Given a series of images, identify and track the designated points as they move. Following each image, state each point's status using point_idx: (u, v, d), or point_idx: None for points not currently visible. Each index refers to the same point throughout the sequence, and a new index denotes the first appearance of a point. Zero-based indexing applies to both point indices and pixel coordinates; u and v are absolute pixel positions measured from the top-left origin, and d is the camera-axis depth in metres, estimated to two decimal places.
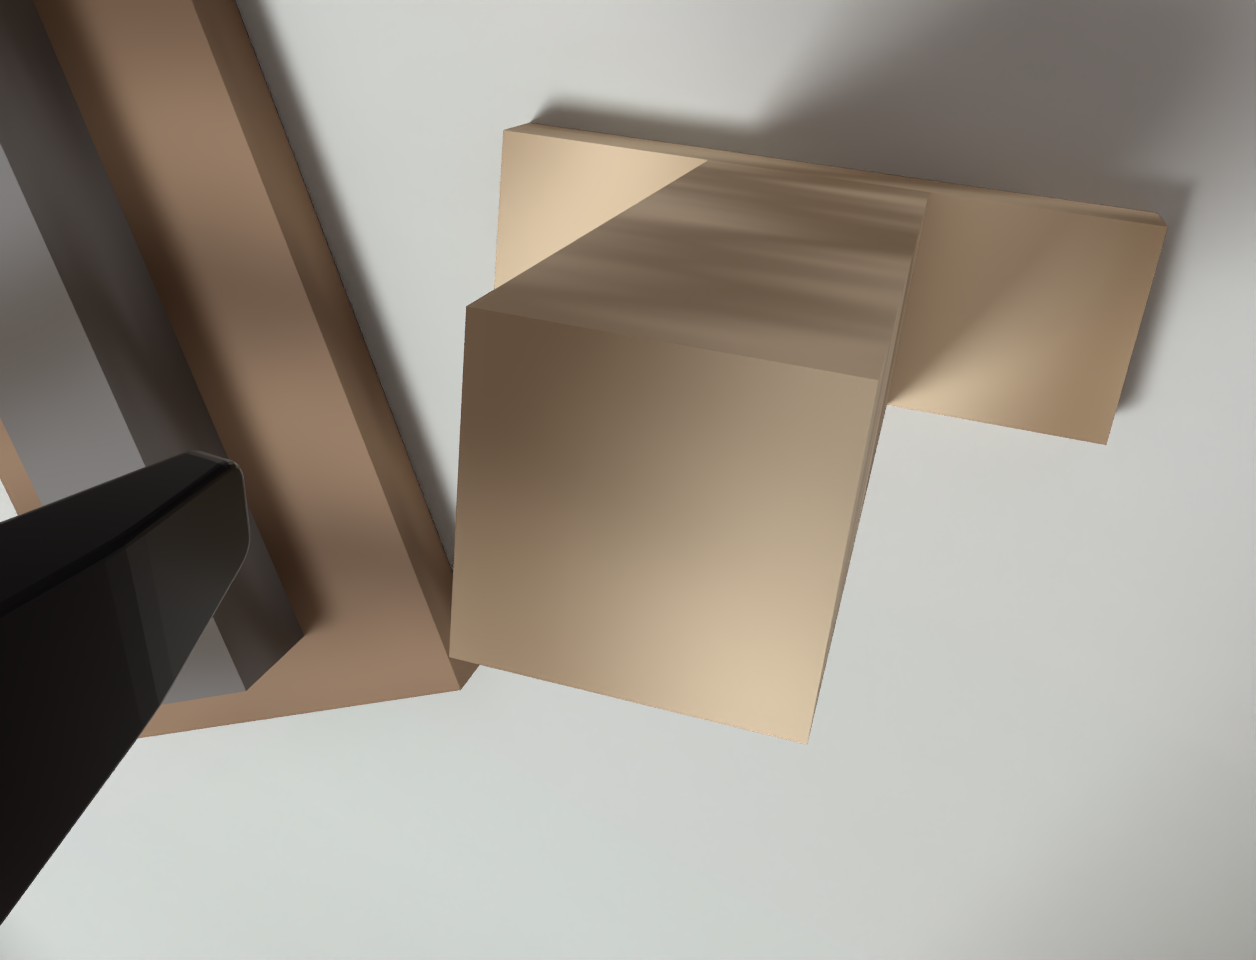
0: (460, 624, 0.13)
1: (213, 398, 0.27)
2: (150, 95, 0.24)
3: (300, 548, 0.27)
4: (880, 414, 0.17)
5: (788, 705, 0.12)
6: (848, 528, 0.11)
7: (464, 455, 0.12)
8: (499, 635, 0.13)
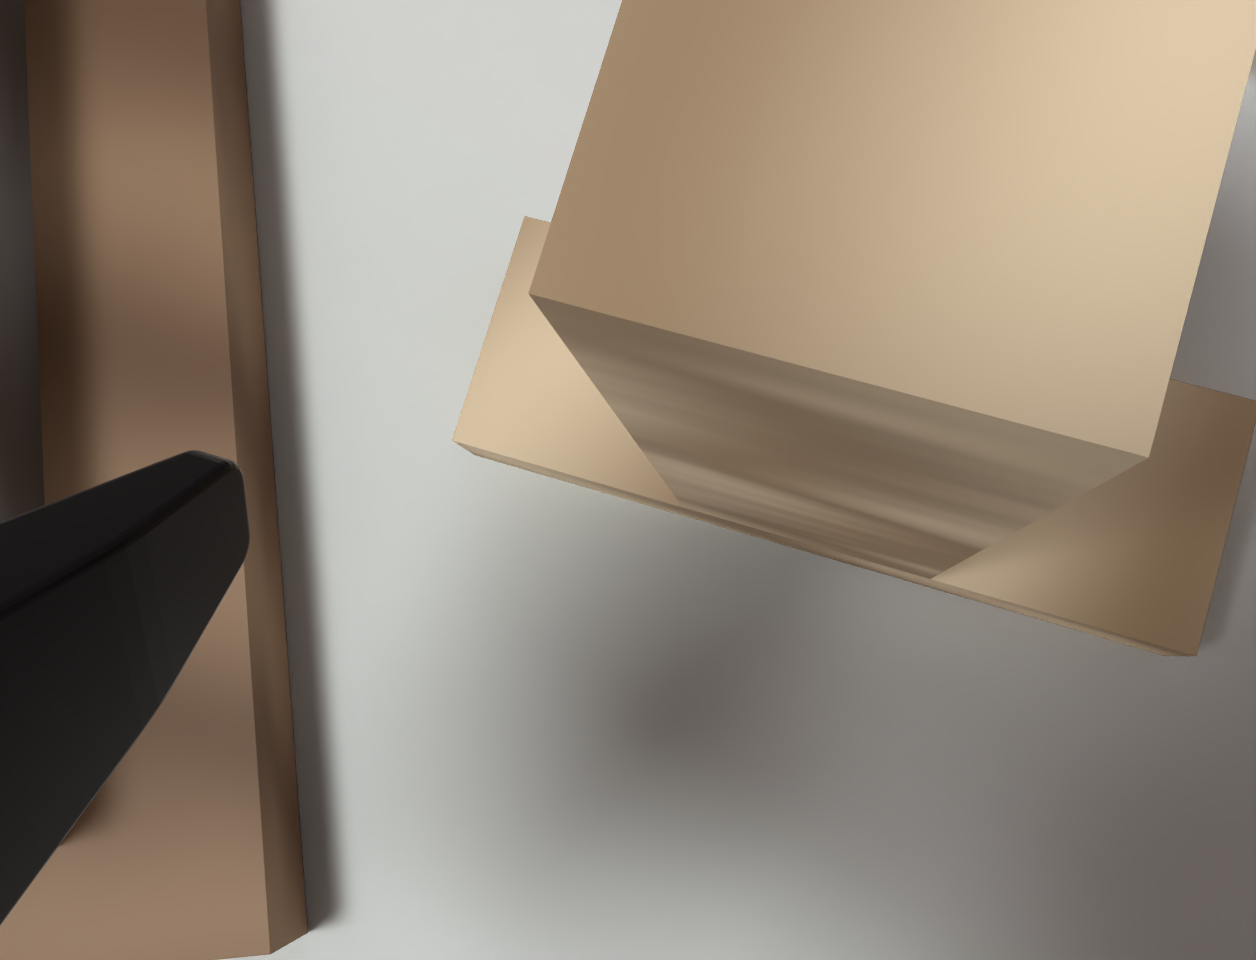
0: (564, 234, 0.08)
1: (58, 485, 0.21)
2: (121, 130, 0.21)
3: None
4: None
5: (1120, 383, 0.07)
6: (1248, 73, 0.07)
7: None
8: (628, 253, 0.08)
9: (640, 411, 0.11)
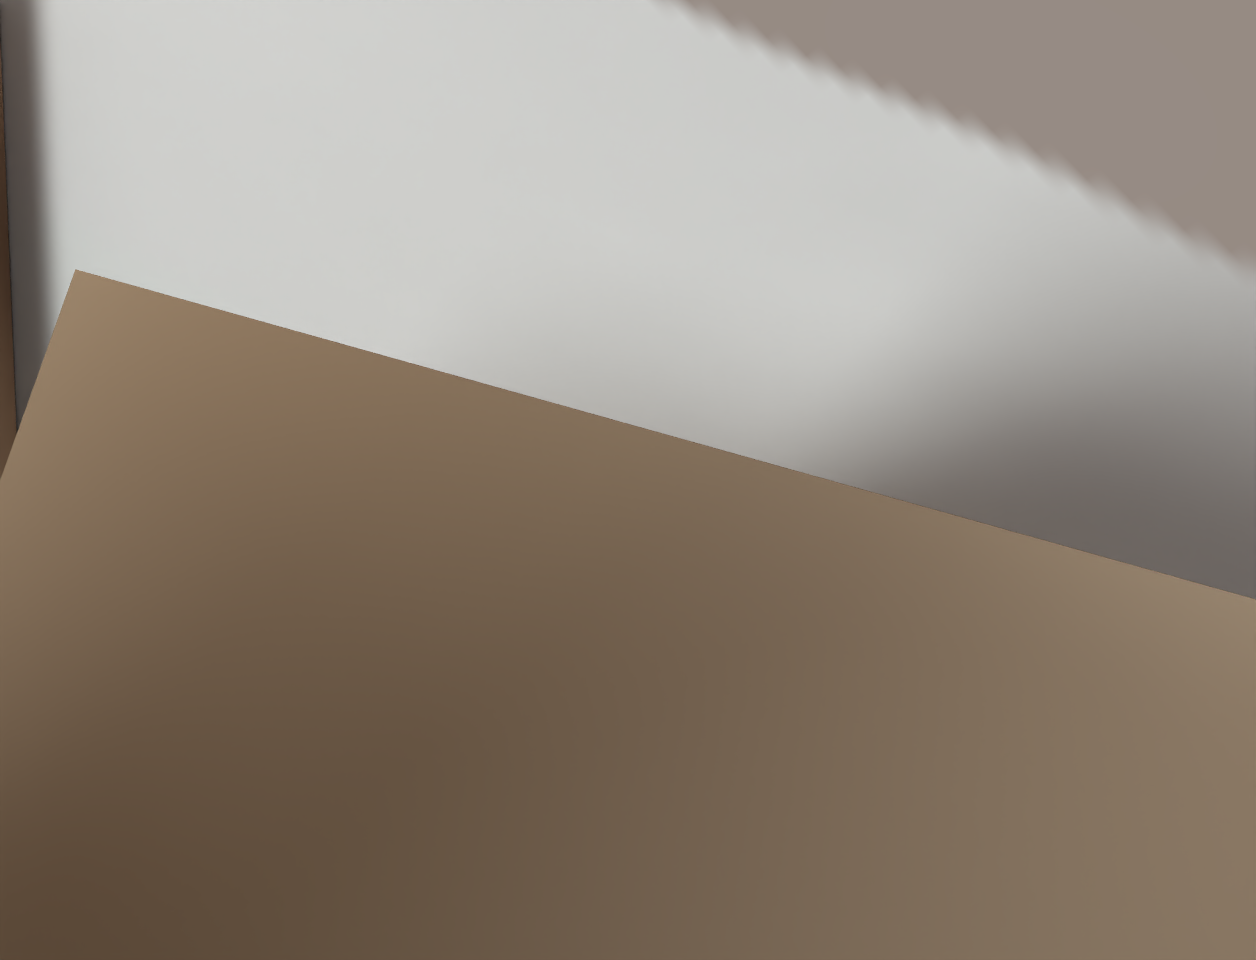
0: None
1: None
2: None
3: None
4: None
5: None
6: None
7: None
8: None
9: None
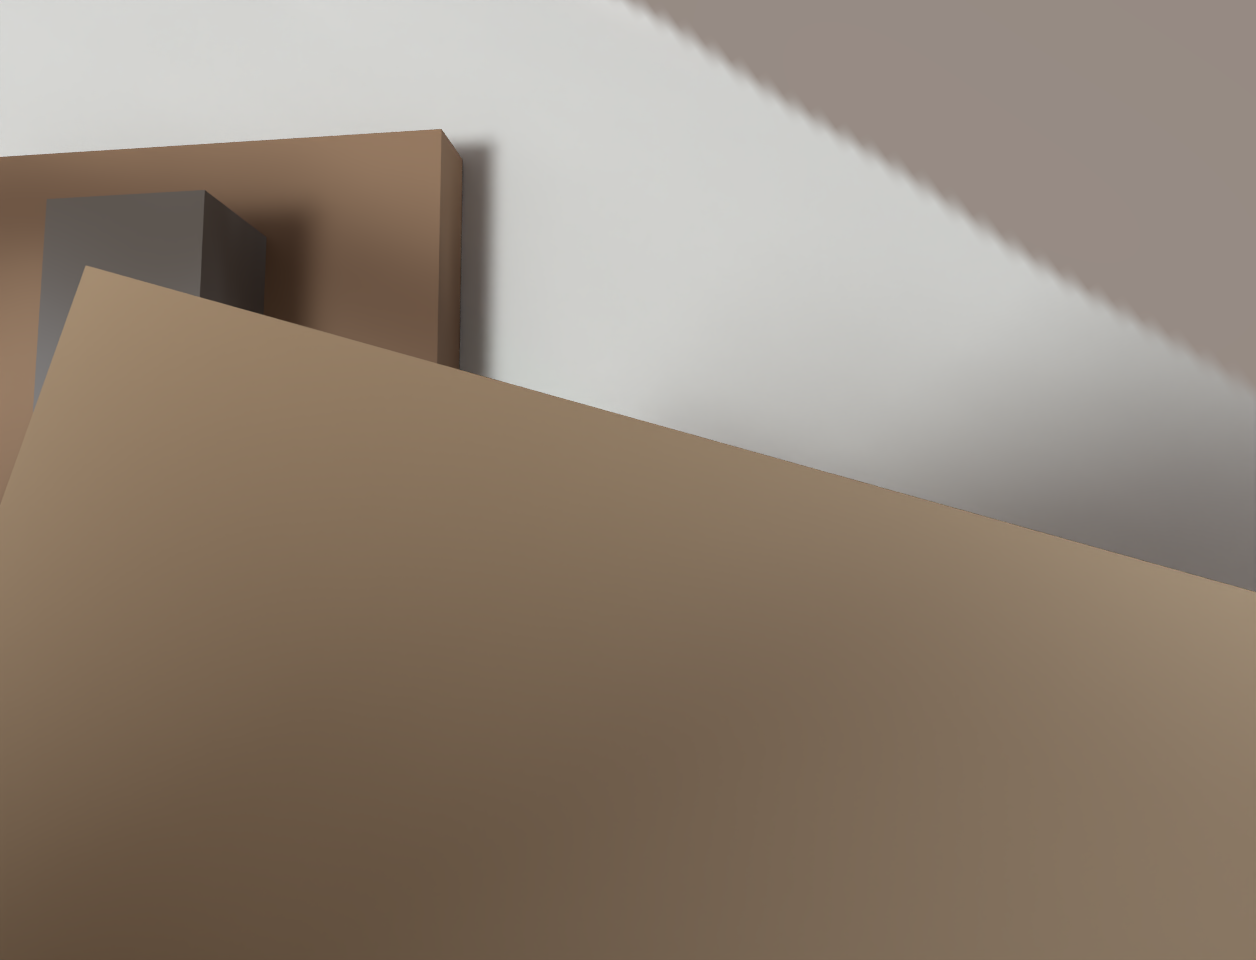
0: None
1: None
2: None
3: None
4: None
5: None
6: None
7: None
8: None
9: None
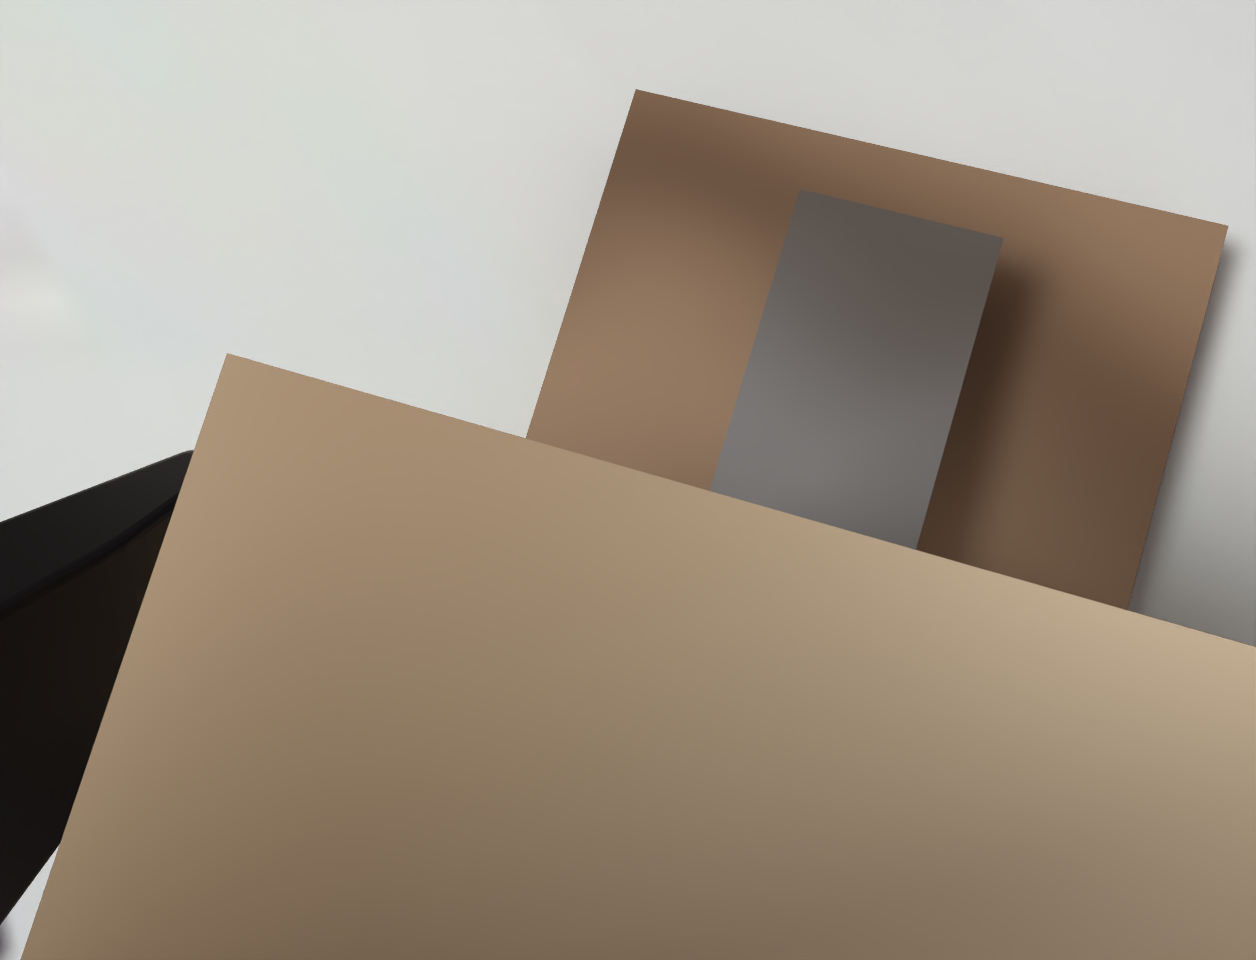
0: None
1: None
2: (1026, 538, 0.19)
3: None
4: None
5: None
6: None
7: (99, 772, 0.04)
8: None
9: None
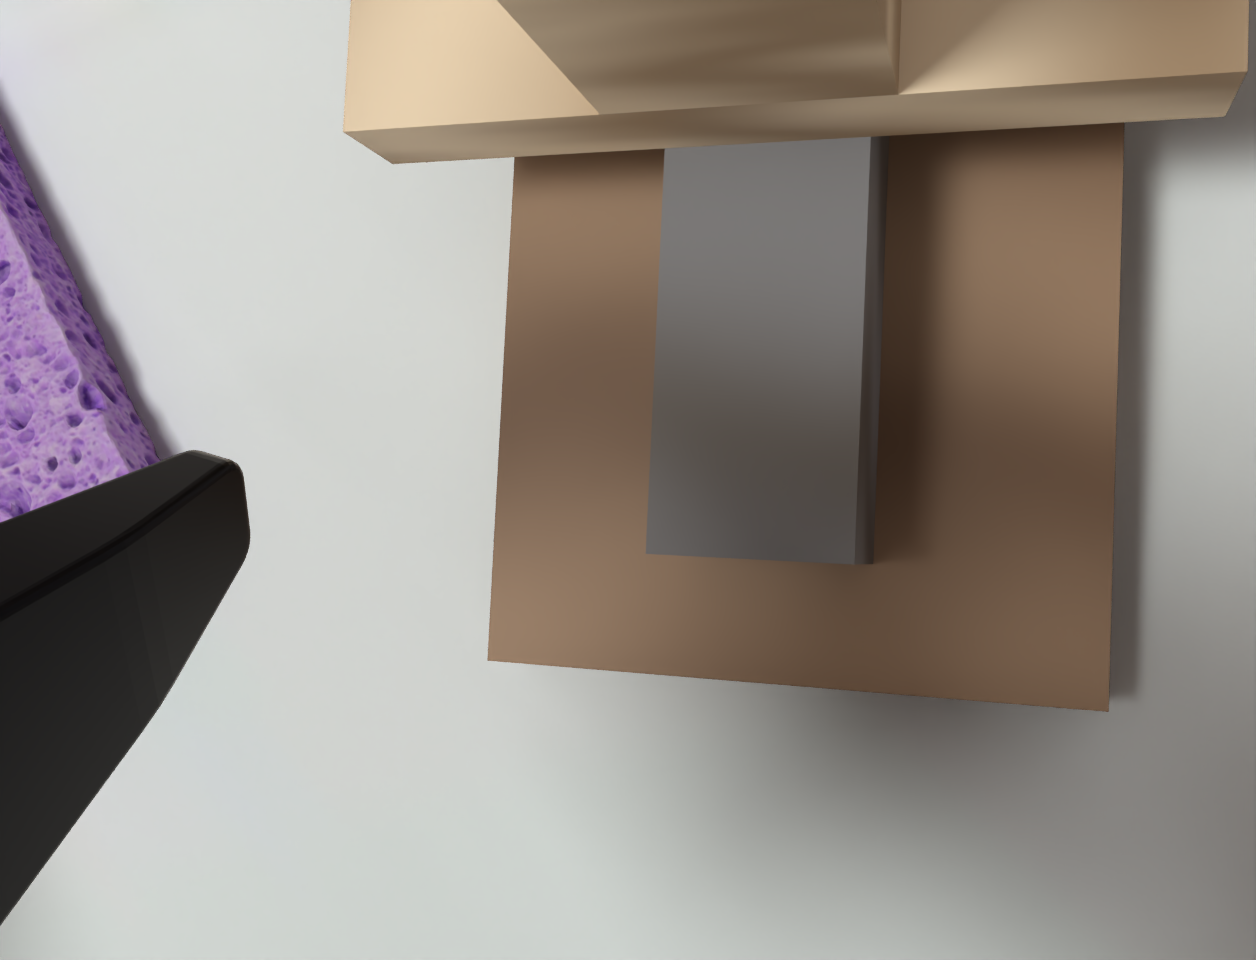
0: None
1: (904, 188, 0.19)
2: None
3: (935, 428, 0.19)
4: None
5: None
6: None
7: None
8: None
9: None
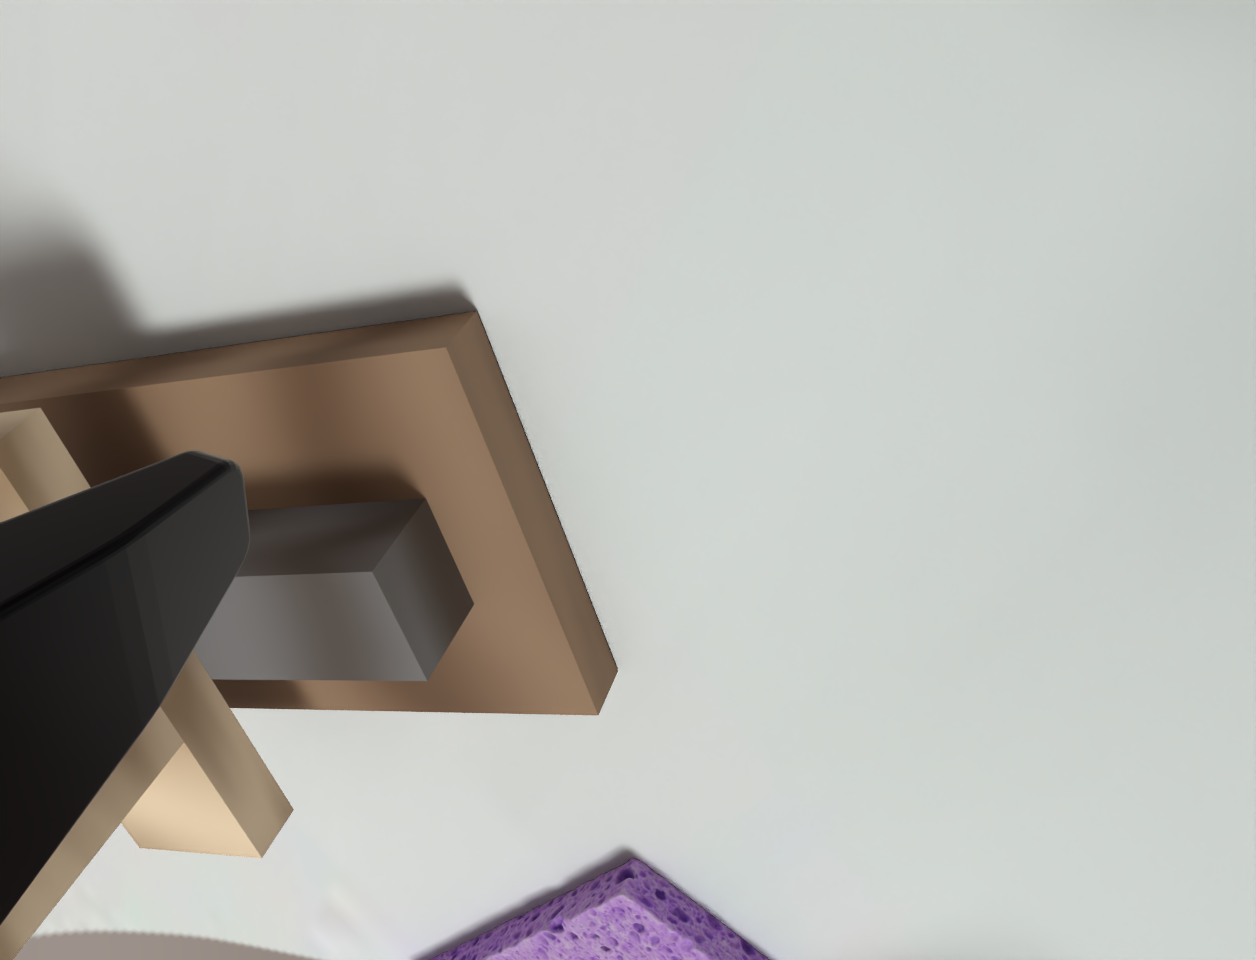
0: None
1: None
2: None
3: (328, 471, 0.26)
4: None
5: None
6: None
7: None
8: None
9: None
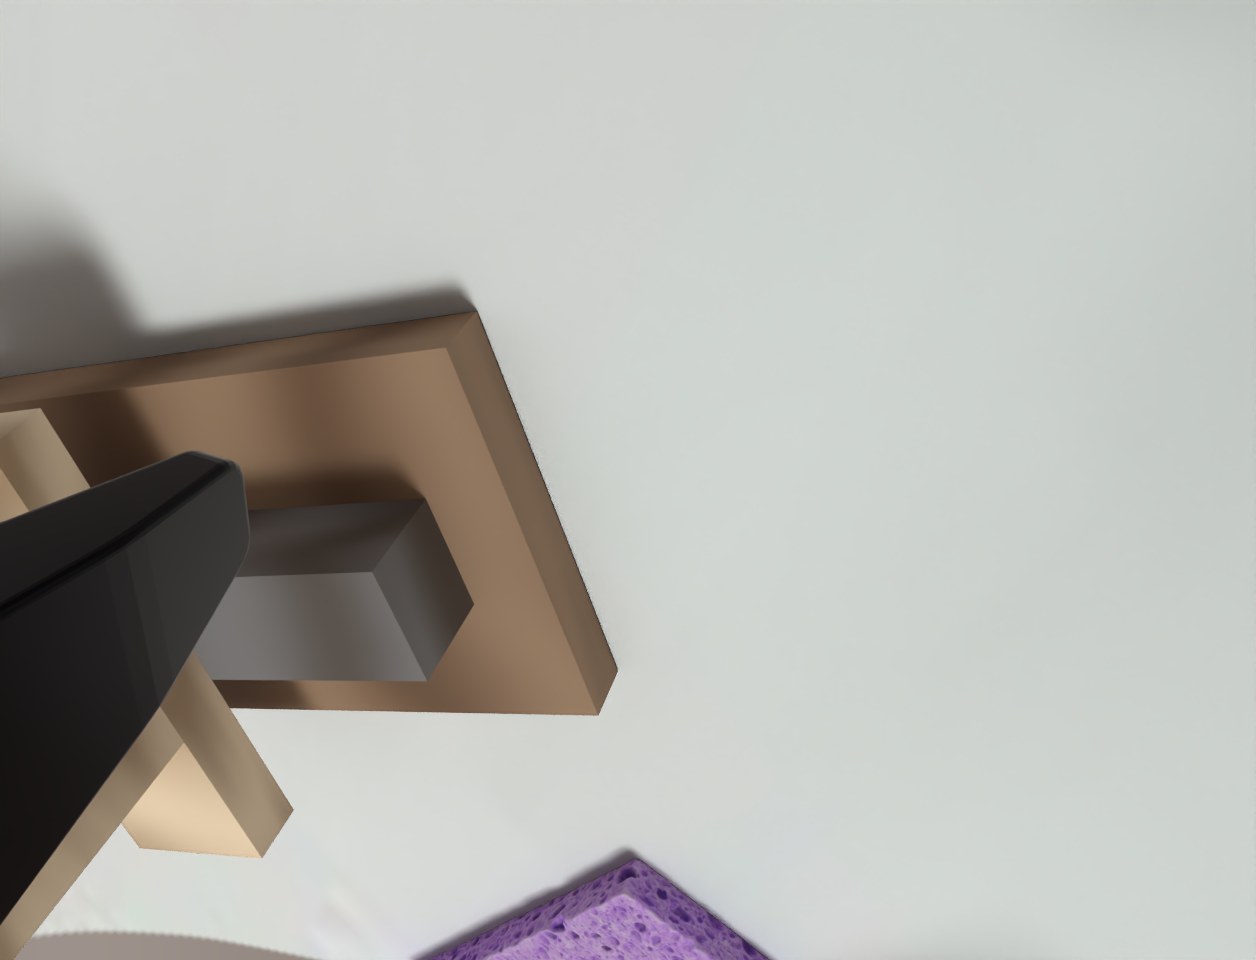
0: None
1: None
2: None
3: (328, 471, 0.26)
4: None
5: None
6: None
7: None
8: None
9: None
